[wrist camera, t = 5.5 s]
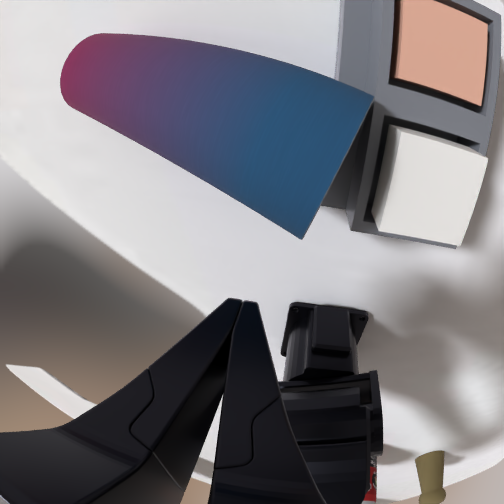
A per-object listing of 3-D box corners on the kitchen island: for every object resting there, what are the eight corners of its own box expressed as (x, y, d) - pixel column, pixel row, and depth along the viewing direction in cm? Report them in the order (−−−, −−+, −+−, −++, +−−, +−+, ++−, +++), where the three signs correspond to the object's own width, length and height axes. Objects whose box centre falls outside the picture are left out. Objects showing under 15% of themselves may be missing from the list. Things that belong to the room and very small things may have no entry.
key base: (444, 213, 18) (474, 252, 13) (320, 190, 19) (322, 226, 14) (477, 32, 10) (521, 27, 6) (340, -11, 12) (351, -40, 7)
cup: (129, 5, 12) (384, 75, 10) (136, 88, 18) (336, 173, 16) (34, 52, 9) (346, 155, 7) (64, 144, 15) (287, 266, 13)
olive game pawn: (409, 461, 41) (410, 510, 32) (433, 449, 38) (437, 501, 29) (426, 462, 42) (428, 508, 32) (449, 451, 38) (454, 499, 29)
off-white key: (446, 226, 13) (460, 246, 12) (371, 211, 14) (378, 231, 12) (468, 147, 11) (488, 158, 9) (389, 123, 12) (401, 131, 10)
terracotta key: (462, 101, 11) (481, 106, 9) (386, 77, 12) (398, 77, 10) (469, 27, 9) (487, 24, 7) (392, 0, 9) (403, -10, 8)
